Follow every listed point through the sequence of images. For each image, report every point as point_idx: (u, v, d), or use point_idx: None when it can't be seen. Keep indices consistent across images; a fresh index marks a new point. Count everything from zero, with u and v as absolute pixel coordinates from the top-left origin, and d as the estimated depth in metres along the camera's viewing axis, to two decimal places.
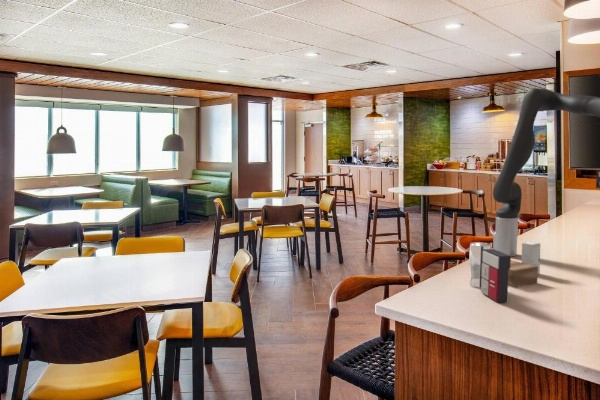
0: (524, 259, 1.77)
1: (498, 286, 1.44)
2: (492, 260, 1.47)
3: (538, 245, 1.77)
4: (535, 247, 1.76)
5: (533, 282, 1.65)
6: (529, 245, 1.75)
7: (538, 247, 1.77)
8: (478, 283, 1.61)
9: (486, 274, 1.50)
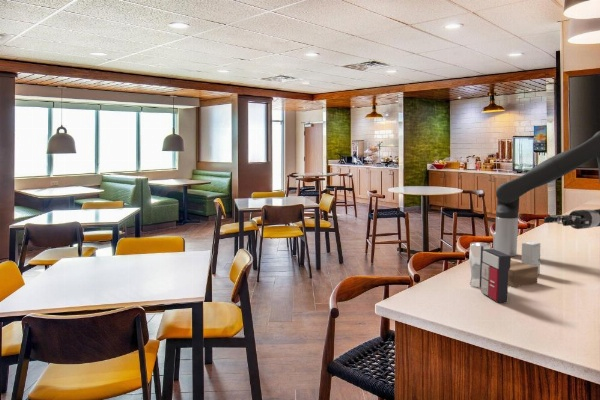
0: (524, 259, 1.77)
1: (498, 286, 1.44)
2: (492, 260, 1.47)
3: (538, 245, 1.77)
4: (535, 247, 1.76)
5: (533, 282, 1.65)
6: (529, 245, 1.75)
7: (538, 247, 1.77)
8: (478, 283, 1.61)
9: (486, 274, 1.50)
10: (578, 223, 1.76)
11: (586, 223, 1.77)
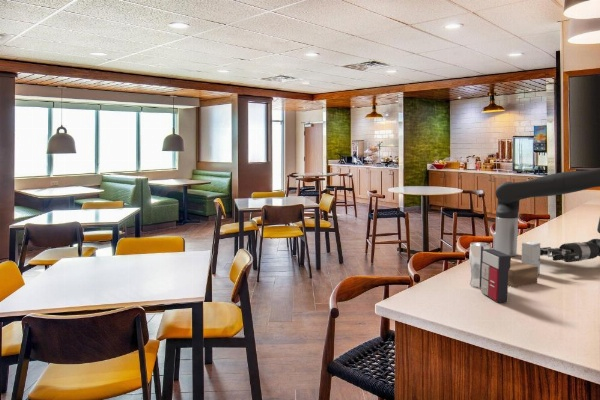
0: (524, 259, 1.77)
1: (498, 286, 1.44)
2: (492, 260, 1.47)
3: (538, 245, 1.77)
4: (535, 247, 1.76)
5: (533, 282, 1.65)
6: (529, 245, 1.75)
7: (538, 247, 1.77)
8: (478, 283, 1.61)
9: (486, 274, 1.50)
10: (568, 258, 1.76)
11: (576, 258, 1.77)
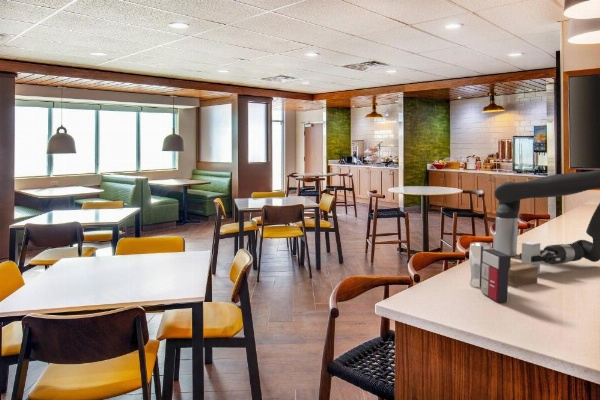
0: (524, 259, 1.77)
1: (498, 286, 1.44)
2: (492, 260, 1.47)
3: (538, 245, 1.77)
4: (534, 247, 1.76)
5: (533, 282, 1.65)
6: (529, 245, 1.75)
7: (538, 247, 1.77)
8: (478, 283, 1.61)
9: (486, 274, 1.50)
10: (546, 259, 1.74)
11: (556, 260, 1.74)
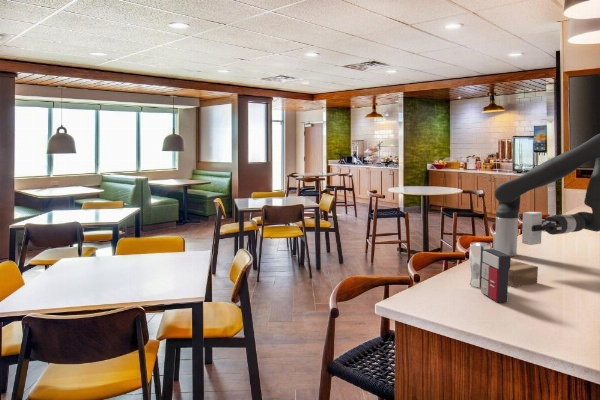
0: (525, 229, 1.76)
1: (498, 286, 1.44)
2: (492, 260, 1.47)
3: (539, 215, 1.76)
4: (535, 216, 1.74)
5: (533, 282, 1.65)
6: (530, 214, 1.74)
7: (539, 217, 1.76)
8: (478, 283, 1.61)
9: (486, 274, 1.50)
10: (546, 228, 1.73)
11: (557, 229, 1.73)
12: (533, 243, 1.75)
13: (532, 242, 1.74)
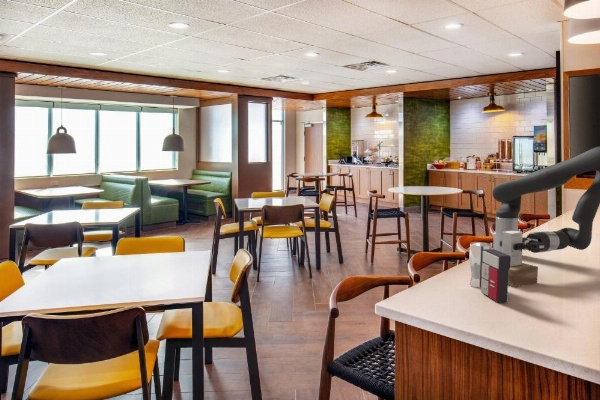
0: (504, 249, 1.67)
1: (498, 286, 1.44)
2: (492, 260, 1.47)
3: (519, 234, 1.66)
4: (515, 236, 1.65)
5: (533, 282, 1.65)
6: (509, 234, 1.65)
7: (519, 236, 1.66)
8: (478, 283, 1.61)
9: (486, 274, 1.50)
10: (529, 247, 1.63)
11: (540, 247, 1.63)
12: (513, 264, 1.66)
13: (511, 264, 1.65)
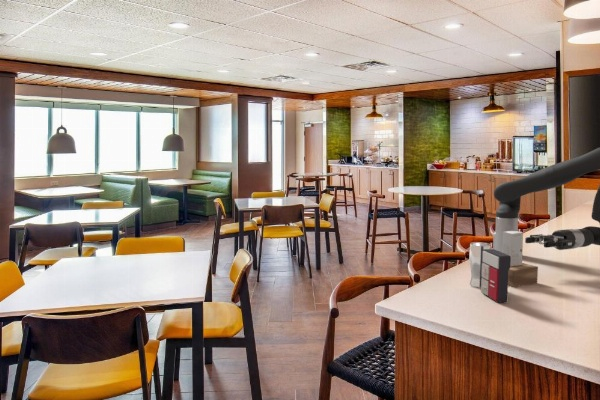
0: (504, 249, 1.67)
1: (498, 286, 1.44)
2: (492, 260, 1.47)
3: (520, 234, 1.66)
4: (515, 236, 1.65)
5: (533, 282, 1.65)
6: (509, 234, 1.65)
7: (520, 236, 1.66)
8: (478, 283, 1.61)
9: (486, 274, 1.50)
10: (560, 245, 1.66)
11: (569, 245, 1.68)
12: (513, 264, 1.66)
13: (512, 264, 1.65)
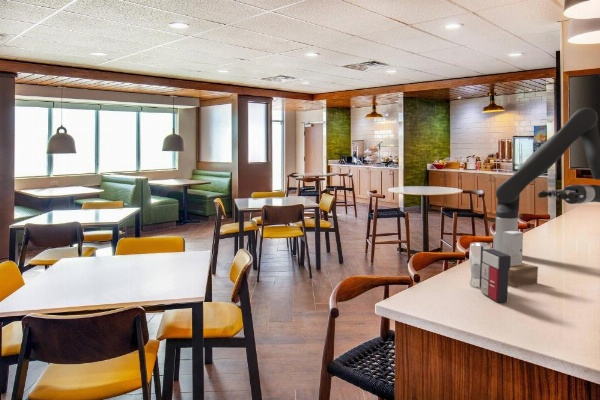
0: (504, 249, 1.67)
1: (498, 286, 1.44)
2: (492, 260, 1.47)
3: (520, 234, 1.66)
4: (515, 236, 1.65)
5: (533, 282, 1.65)
6: (509, 234, 1.65)
7: (520, 236, 1.66)
8: (478, 283, 1.61)
9: (486, 274, 1.50)
10: (572, 197, 1.73)
11: (580, 197, 1.74)
12: (513, 264, 1.66)
13: (512, 264, 1.65)
